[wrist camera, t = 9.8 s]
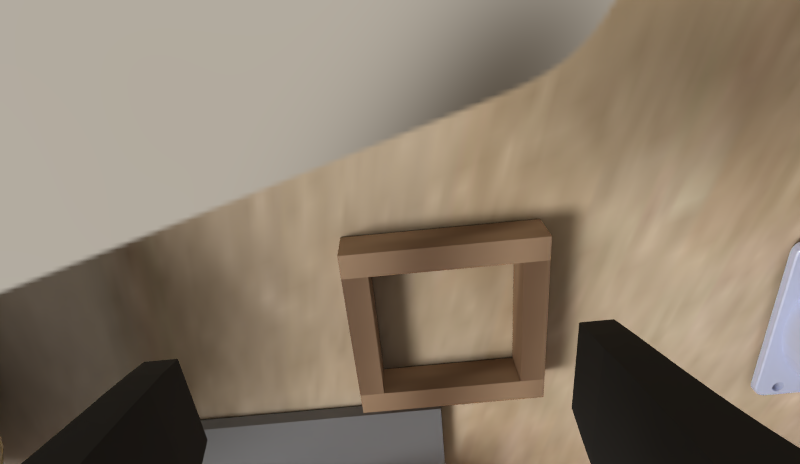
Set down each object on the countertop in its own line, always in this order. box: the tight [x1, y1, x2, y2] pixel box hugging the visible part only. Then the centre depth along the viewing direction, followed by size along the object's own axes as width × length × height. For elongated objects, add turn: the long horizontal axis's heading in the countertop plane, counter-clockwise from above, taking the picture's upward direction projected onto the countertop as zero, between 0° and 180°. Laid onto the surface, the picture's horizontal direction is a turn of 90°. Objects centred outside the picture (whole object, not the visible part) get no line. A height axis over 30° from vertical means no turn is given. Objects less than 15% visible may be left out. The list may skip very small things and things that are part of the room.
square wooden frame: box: [337, 219, 552, 413], centre depth 20 cm, size 8×8×2 cm
